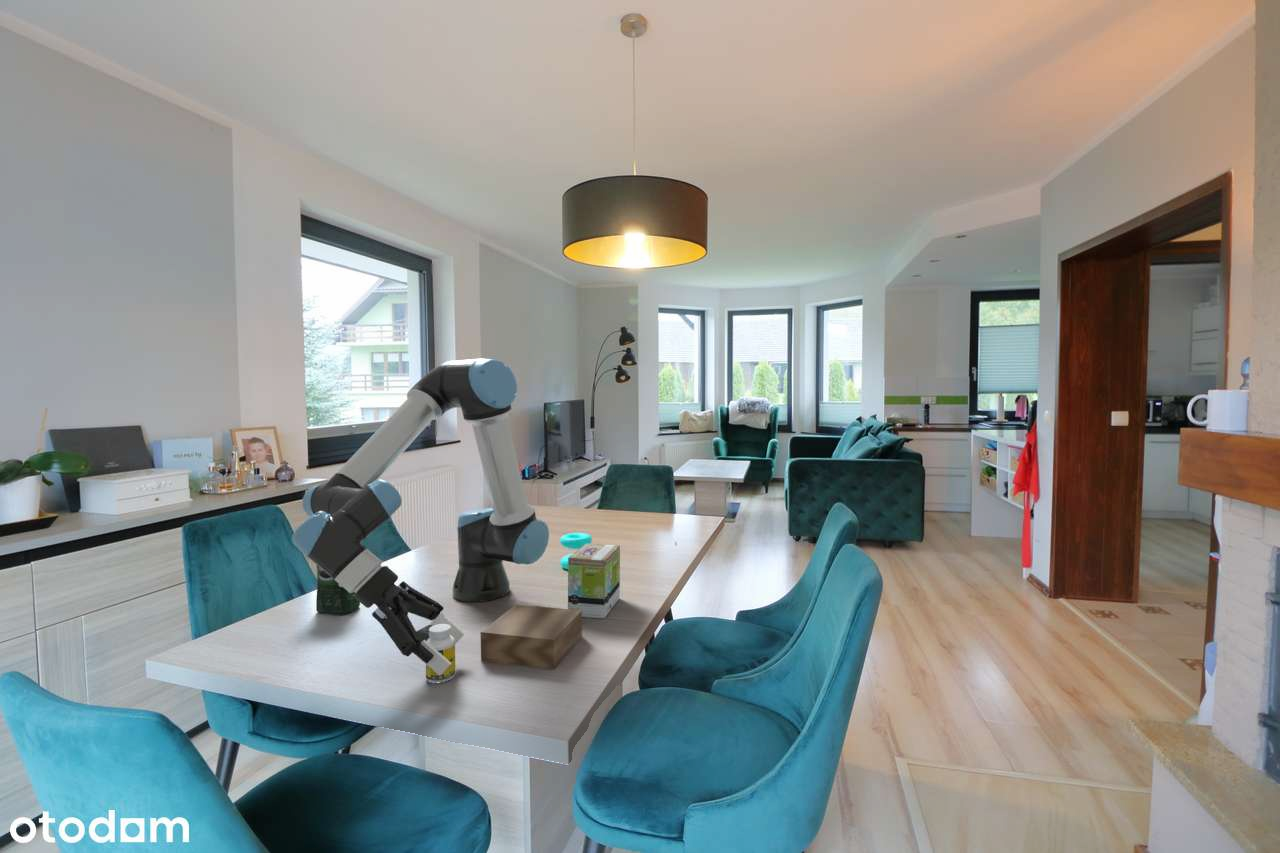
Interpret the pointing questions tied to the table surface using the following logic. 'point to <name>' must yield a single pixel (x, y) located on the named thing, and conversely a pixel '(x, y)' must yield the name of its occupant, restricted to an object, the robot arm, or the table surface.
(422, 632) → the cell phone
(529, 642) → the walnut block
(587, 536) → the donuts
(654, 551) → the table surface
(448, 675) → the supplement bottle
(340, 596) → the coffee jar
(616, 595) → the tea box
